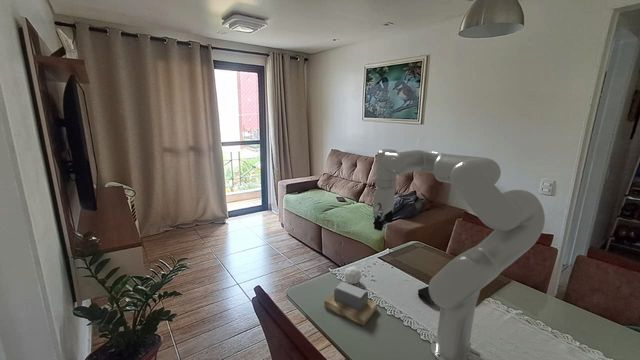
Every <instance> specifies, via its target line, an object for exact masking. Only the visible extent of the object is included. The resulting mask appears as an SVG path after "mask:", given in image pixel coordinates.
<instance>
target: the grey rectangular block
mask: <svg viewBox="0 0 640 360" xmlns="http://www.w3.org/2000/svg"><path fill="white" fill-rule="evenodd" d="M333 292H334V300H335V301H337V302H339V303H342V304H344V305H346V306H348V307H351V308H353V309H355V310H358V311H360V312H361V311H362V310H363V309H364V307H365V306H366V305H367V304H368V299H369V292H368V290H367V289H366V290H365V289H362V288H360V287H358V286H355V285H354V284H350V283H348V282H345V281H341V282H340V283H338V284H337V286H336V287H335V288H334V289H333Z"/></svg>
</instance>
